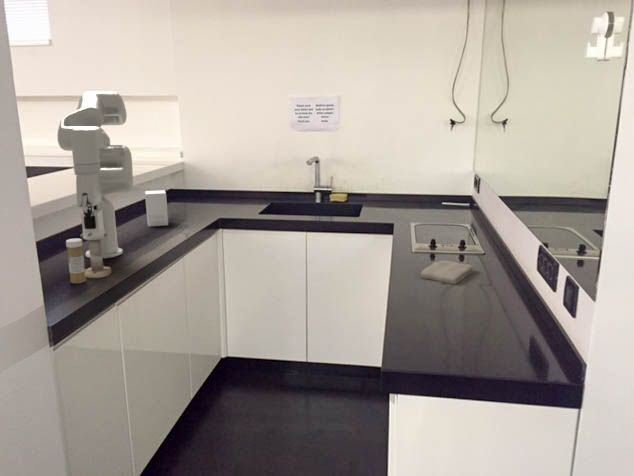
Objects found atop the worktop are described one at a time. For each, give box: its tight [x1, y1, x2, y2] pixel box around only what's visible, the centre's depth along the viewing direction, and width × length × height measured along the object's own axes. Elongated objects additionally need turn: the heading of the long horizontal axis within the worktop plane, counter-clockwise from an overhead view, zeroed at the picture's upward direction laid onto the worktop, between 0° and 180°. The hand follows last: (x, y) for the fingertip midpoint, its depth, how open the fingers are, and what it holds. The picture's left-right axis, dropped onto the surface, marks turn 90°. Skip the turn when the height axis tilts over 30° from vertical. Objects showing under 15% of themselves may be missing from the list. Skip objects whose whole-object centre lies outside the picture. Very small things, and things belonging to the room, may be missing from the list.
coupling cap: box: [80, 210, 108, 241], centre depth 168 cm, size 9×8×8 cm
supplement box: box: [144, 189, 169, 227], centre depth 243 cm, size 9×9×15 cm
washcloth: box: [420, 259, 474, 285], centre depth 175 cm, size 12×18×3 cm, turn 146°
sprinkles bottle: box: [65, 237, 87, 284], centre depth 164 cm, size 5×5×13 cm
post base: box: [85, 239, 112, 279], centre depth 172 cm, size 8×8×12 cm
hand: (93, 226), depth 169 cm, fingers closed on coupling cap, 5 cm apart
